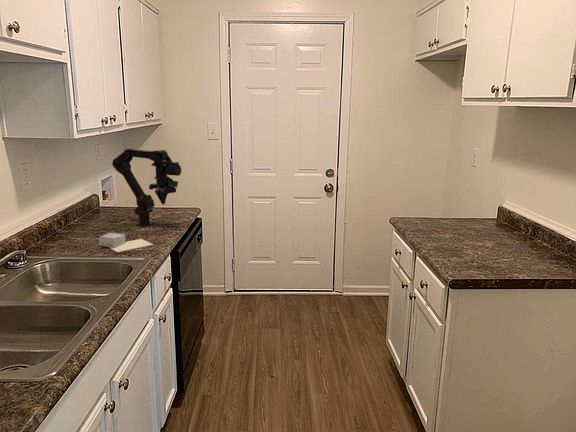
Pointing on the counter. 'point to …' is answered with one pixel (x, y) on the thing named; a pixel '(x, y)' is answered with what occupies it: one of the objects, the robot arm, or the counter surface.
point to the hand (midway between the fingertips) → (163, 204)
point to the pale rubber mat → (131, 245)
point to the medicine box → (112, 240)
